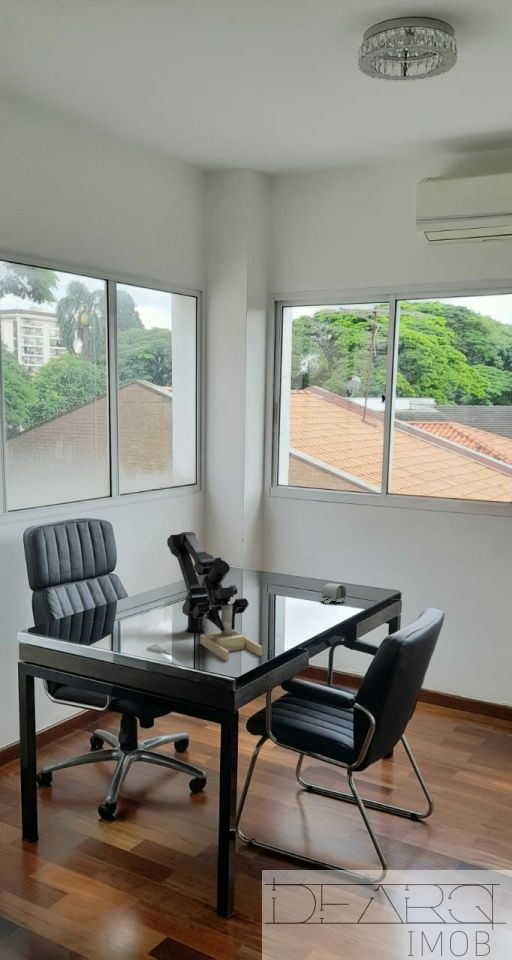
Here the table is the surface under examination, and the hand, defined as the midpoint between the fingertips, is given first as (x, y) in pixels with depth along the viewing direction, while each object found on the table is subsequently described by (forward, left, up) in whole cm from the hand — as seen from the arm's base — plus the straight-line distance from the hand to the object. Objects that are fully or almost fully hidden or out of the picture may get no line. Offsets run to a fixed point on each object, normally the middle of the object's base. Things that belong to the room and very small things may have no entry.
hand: (228, 630), depth 259 cm
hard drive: (+1, -19, -8) cm, 21 cm away
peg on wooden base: (-1, -1, -6) cm, 6 cm away
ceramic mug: (-71, +39, -7) cm, 81 cm away
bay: (+1, +1, -7) cm, 7 cm away
